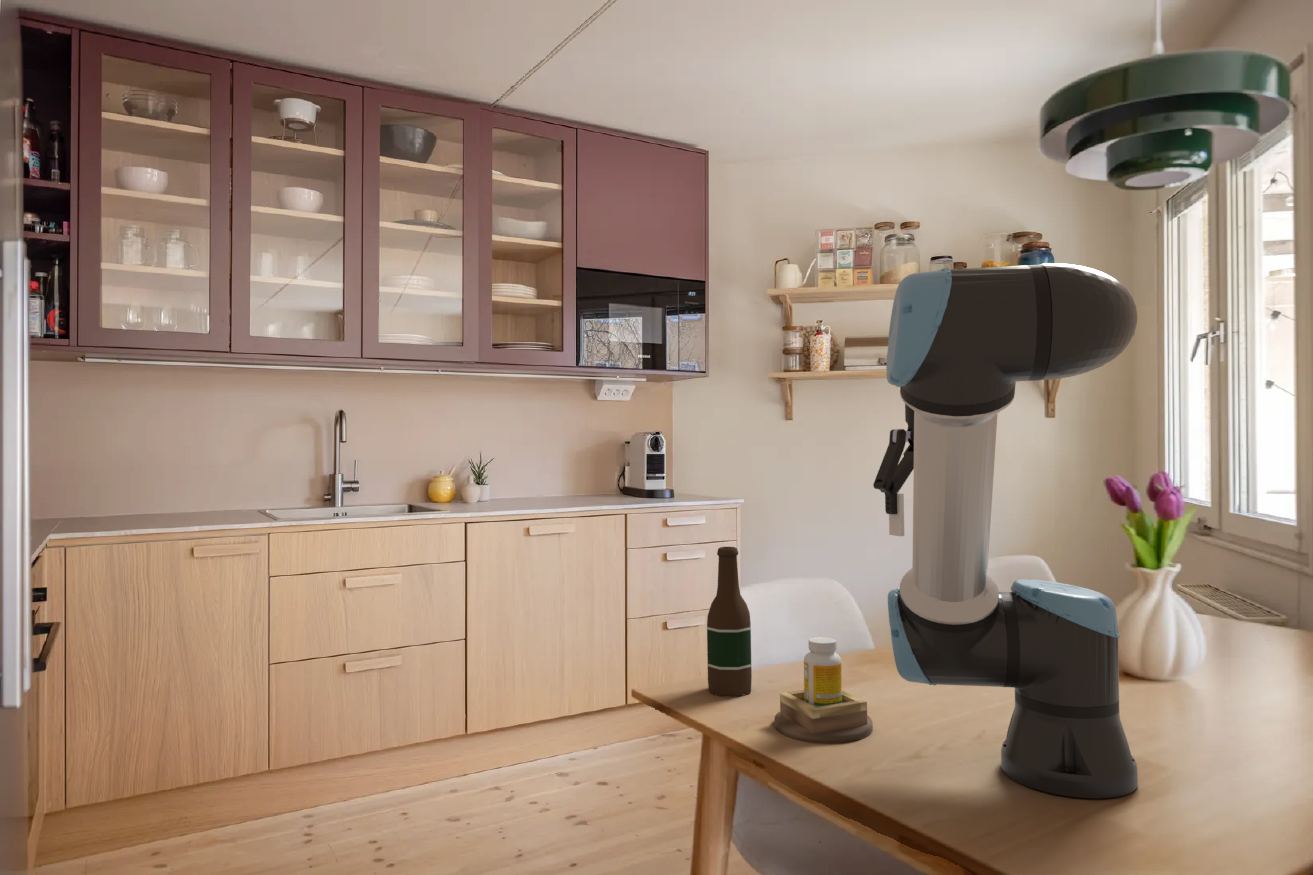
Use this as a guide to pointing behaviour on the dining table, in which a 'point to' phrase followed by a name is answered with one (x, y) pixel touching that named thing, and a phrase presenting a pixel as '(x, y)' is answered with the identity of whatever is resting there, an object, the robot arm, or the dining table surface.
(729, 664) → the beer bottle
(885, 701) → the dining table surface
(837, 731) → the square wooden tray
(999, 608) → the robot arm
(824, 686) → the supplement bottle
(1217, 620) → the dining table surface
